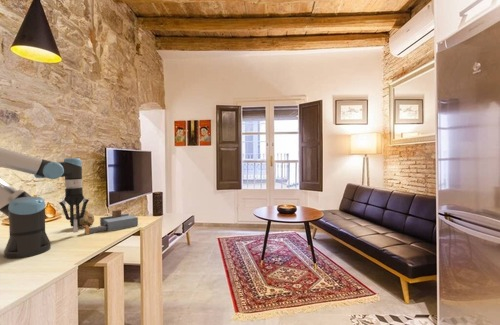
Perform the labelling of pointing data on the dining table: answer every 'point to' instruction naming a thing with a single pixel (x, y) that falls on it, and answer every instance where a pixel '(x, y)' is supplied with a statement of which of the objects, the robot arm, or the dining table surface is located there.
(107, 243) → the dining table surface
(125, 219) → the dock block
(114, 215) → the peg
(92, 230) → the lock pin
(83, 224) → the rock
